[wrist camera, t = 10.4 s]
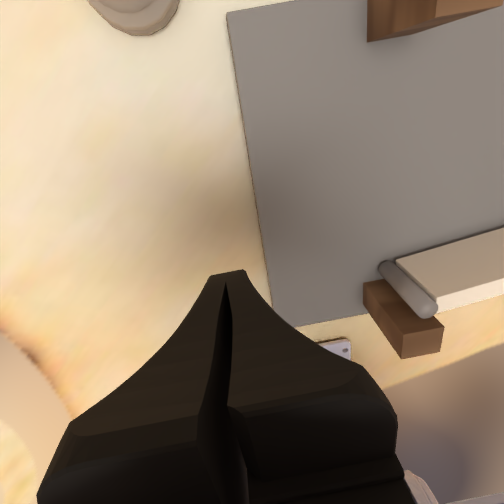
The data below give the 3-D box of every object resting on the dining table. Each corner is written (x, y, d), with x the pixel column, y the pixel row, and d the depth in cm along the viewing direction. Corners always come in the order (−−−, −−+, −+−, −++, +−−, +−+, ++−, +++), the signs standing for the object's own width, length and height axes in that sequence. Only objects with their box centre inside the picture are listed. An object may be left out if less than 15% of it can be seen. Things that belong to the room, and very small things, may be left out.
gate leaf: (379, 280, 22) (418, 324, 18) (377, 260, 21) (417, 301, 17) (561, 226, 21) (646, 259, 17) (566, 203, 21) (656, 231, 16)
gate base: (539, 271, 25) (551, 278, 24) (275, 322, 24) (277, 330, 24) (650, -59, 15) (676, -68, 15) (226, 17, 15) (226, 12, 14)
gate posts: (393, 298, 23) (439, 351, 18) (362, 304, 23) (401, 359, 18) (416, -17, 14) (516, -74, 10) (367, -8, 14) (443, -61, 10)
